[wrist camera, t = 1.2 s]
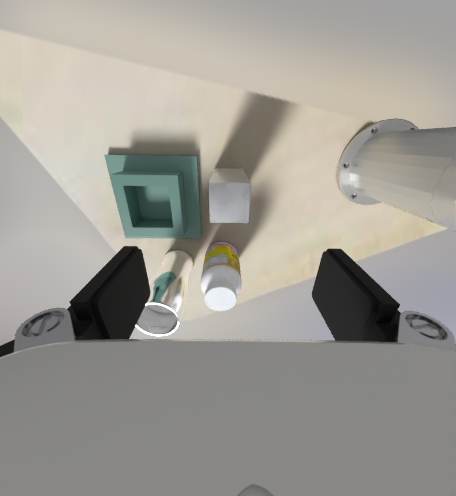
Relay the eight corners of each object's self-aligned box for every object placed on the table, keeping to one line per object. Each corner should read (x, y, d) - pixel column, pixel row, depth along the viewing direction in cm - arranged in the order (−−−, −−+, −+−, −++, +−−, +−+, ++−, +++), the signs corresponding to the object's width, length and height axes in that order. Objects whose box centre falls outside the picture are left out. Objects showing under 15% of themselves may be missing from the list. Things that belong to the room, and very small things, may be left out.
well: (197, 155, 32) (192, 158, 27) (201, 236, 38) (198, 248, 34) (107, 154, 31) (88, 156, 27) (127, 235, 38) (114, 248, 33)
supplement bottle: (239, 267, 42) (244, 314, 30) (208, 270, 42) (201, 318, 31) (237, 238, 38) (241, 279, 27) (203, 242, 39) (193, 283, 27)
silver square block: (242, 168, 32) (251, 182, 21) (240, 196, 35) (248, 223, 23) (214, 167, 32) (208, 182, 21) (215, 195, 35) (209, 222, 23)
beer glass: (166, 242, 39) (135, 295, 25) (200, 254, 40) (187, 310, 27) (157, 270, 42) (126, 329, 28) (189, 280, 43) (173, 342, 30)
